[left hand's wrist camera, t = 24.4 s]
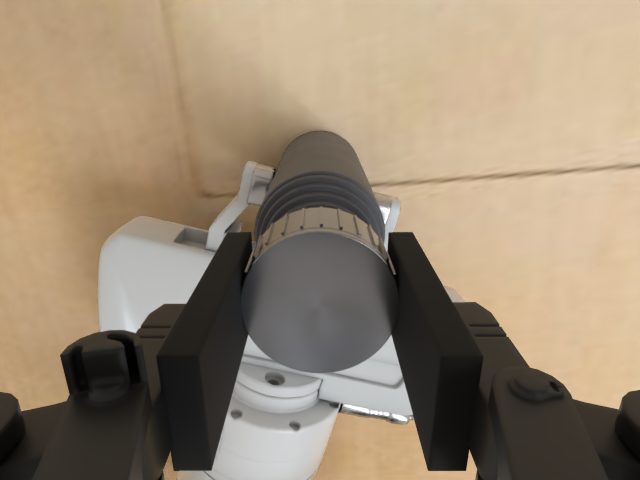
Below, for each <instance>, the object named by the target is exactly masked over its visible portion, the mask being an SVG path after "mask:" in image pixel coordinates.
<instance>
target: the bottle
mask: <svg viewBox="0 0 640 480" xmlns="http://www.w3.org/2000/svg"><path fill="white" fill-rule="evenodd" d="M320 206H323V207H324V208H333V209H338V208H339V209H340V210H341V211H344V212H347V213H350V214H352V215H357V218H359V219H360V220H362V221H364V222H365V223H366V224H367V225H371V228H372V230H373V231H374V232H375V233H376V234H377V236H378V237H381V239H382V241H383V244H384V241H385V223H384V218H383V214H382V212H381V209H380V207H379V205H378V202H377V200H376V198H375V196H374V193H373V191H372V189H371V187H370V184H369V182H368V180H367V177H366V175H365V173H364V171H363V168H362V166H361V164H360V162H359V159H358V157H357V155H356V153H355V151H354V149H353V148H352V146H351V145H350V144H349V143H348V142H347V141H346V140H345V139H343V138H342V137H340V136H338V135H336V134H334V133H331V132H327V131H313V132H309V133H306V134H303V135H301V136H300V137H298V138H296V139H295V140H294V141H293V142H292V143H291V144H290V145H289V146H288V148H287V149H286V151H285V152H284V154H283V157H282V159H281V161H280V163H279V166H278V168H277V170H276V172H275V175H274V177H273V179H272V182H271V184H270V186H269V188H268V191H267V193H266V195H265V197H264V200H263V202H262V204H261V206H260V209H259V211H258V214H257V217H256V222H255V232H254V233H255V243H256V245H257V242H258V240H259V237H260V235H263V234H264V233H265V232H266V231H267V229H268V228H269V227H270V225H271V223H275V222H276V221H278V220H279V219H281V218H282V217H284V216H285V214H287V213H288V214H290V213H292V212H295V211H298V210H302V208H305V209H307V208H316V207H320Z"/></svg>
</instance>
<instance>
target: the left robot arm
mask: <svg viewBox="0 0 640 480" xmlns="http://www.w3.org/2000/svg"><path fill="white" fill-rule="evenodd" d="M387 251H388V254H389V256H390V259H391V261H392V264H393V267H394V269H395V272H396V275H397V276H396V277H395V278H396V282H397V285H398V288H399V301H398V315H397V323H396V326H395V328H394V330H393V332H392V334H391V335H392V339H393V343H394V346H395V350H396V354H397V357H398V361H399V365H400V369H401V372H402V376H403V380H404V383H405V387H406V391H407V394H408V398H409V402H410V405H411V409H412V413H413V417H414V420H415V424H416V428H417V431H418V435H419V439H420V442H421V446H422V450H423V454H424V457H425V461H426V465H427V468H428V471H466V467H467V460H468V454H469V449H470V452H471V454H472V457H473V459H474V462H475V464H476V467H477V474H476V480H640V390H637V391H631V392H628V393H627V394H626V395H625V396H624V397H623V398H622V401H621V404H620V408H619V410H618V409H613V408H609V407H604V406H599V405H594V404H590V403H585V402H581V401H578V400H574V399H572V396H571V394H570V393H569V391H568V390H567V389H566V387H565V386H564V385H563V384H562V383H561V382H559V381H558V380H557V379H555V378H554V377H553V376H551V375H549V374H546V373H544V372H542V371H540V370H537V369H533V368H530V367H529V366H528V364H527V363H526V361H525V360H524V359H523V357H522V356H521V354H520V353H519V352H518V350H517V349H516V347H515V346H514V344H513V343H512V342H511V340H510V339H509V337H506V333H505V332H504V330H503V329H502V328H501V327H499V323H498V322H497V320H496V319H495V318H494V316H493V315H492V313H491V312H489V311H488V310H486V309H485V308H483V307H482V306H480V305H479V304H477V303H476V302H452V300H451V299H450V297H449V295H448V293H447V292H446V290H445V288H444V287H443V285H442V283H441V281H440V280H439V278H438V276H437V274H436V273H435V271H434V269H433V267H432V266H431V264H430V262H429V260H428V259H427V257H426V255H425V253H424V252H423V250H422V248H421V246H420V245H419V243H418V241H417V239H416V238H415V236H414V234H413V233H412V232H389V233H388V250H387ZM251 253H252V238H251V232H227V234H226V235H225V237H224V239H223V241H222V242H221V244H220V246H219V248H218V249H217V251H216V253H215V255H214V256H213V258H212V260H211V262H210V263H209V265H208V267H207V269H206V270H205V272H204V274H203V276H202V277H201V279H200V281H199V282H198V284H197V286H196V288H195V289H194V291H193V293H192V295H191V296H190V298H189V300H188V302H187V303H186V304H163V305H162V306H160V307H159V308H157V309H156V310H154V311H153V312H151V313H150V314H149V315H148V316H147V318H146V319H145V320H144V322H143V323H142V325H141V328H139V329H138V330H137V332H136V333H134V332H130V331H126V330H108V331H103V332H98V333H94V334H91V335H89V336H86V337H83V338H81V339H79V340H77V341H76V342H74V343H73V344H71V345H69V346H68V347H67V348H66V349H65V350H64V351H63V352H62V354H61V355H60V357H61V361H62V365H63V369H64V373H65V377H66V381H67V385H68V389H69V393H70V395H69V397H68V399H67V401H66V402H62V403H58V404H55V405H50V406H45V407H41V408H36V409H31V410H26V411H22V412H21V409H20V406H19V402H18V399H16V398H15V397H14V396H13V395H12V394H9V393H3V392H0V480H164V474H163V469H164V466H165V464H166V461H167V458H168V456H169V453H170V451H171V456H172V462H173V469H174V471H212V467H213V464H214V460H215V456H216V452H217V449H218V445H219V441H220V438H221V434H222V430H223V427H224V423H225V419H226V416H227V412H228V408H229V404H230V401H231V397H232V393H233V390H234V386H235V382H236V379H237V375H238V371H239V368H240V364H241V360H242V356H243V353H244V349H245V345H246V342H247V338H248V333H247V330H246V328H245V326H244V324H243V319H242V305H241V287H242V284H243V281H244V278H245V275H246V274H244V271H245V269H246V266H247V263H248V261H249V258H250V255H251Z"/></svg>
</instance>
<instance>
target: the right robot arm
mask: <svg viewBox="0 0 640 480" xmlns="http://www.w3.org/2000/svg"><path fill="white" fill-rule="evenodd" d="M275 171H276V168H275V167H272V166H268V165H264V164H260V163H257V162H253V161H248V162H247V163H246V164H245V167H244V170H243V174H242V179H241V184H240V189H239V193H238V194H237V196H236V197H235V198H234V199H233V200H232V201H231V202H230V203H229V204H228V205H227V206H226V207H225V208H224V209H223V211H222V212H221V213H220V214H219V215H218V216H217V217H216V219H215V220H214V222H213V223H212V225H211V226H210V227H209V231H208V230H204V229H199V228H195V227H191V226H187V225H182V224H178V223H174V222H170V221H166V220H161V219H157V218H153V217H149V216H137V217H135V218H134V219H132V220H130V221H129V222H127V223H126V224H124V225H123V226H121V227H120V228H118V229H117V230H116V231H115V232H114V233H113V234H112V235H111V236H109V238H108V239H107V240H106V241H105V243H104V244H103V246H102V249H101V252H100V258H99V268H98V317H99V329H100V332H103V331H108V330H126V331H130V332H134V333H136V332H137V330H138V329H139V328H141V325H142V323H143V322H144V320H145V319H146V318H147V316H148V315H149V314H150V313H151V312H153V311H154V310H156V309H157V308H159V307H160V306H162V305H163V304H186V303H187V302H188V300H189V298H190V296H191V295H192V293H193V291H194V289H195V288H196V286H197V284H198V282H199V281H200V279H201V277H202V276H203V274H204V272H205V270H206V269H207V267H208V265H209V263H210V262H211V260H212V258H213V256H214V255H215V253H216V251H217V249H218V248H219V246H220V244H221V242H222V241H223V239H224V237H225V235H226V234H227V232H241V227H242V222H241V221H238V220H235V219H236V218H237V217H238V216H239V215H240V214H241V213H242V212H243V211H244V210H245V209H246V208H247V207H248V205H249V204H255V205H259V206H261V204H262V202H263V200H264V197H265V195H266V193H267V191H268V188H269V186H270V184H271V182H272V179H273V177H274V175H275ZM373 193H374V196H375V198H376V200H377V202H378V205H379V207H380V209H381V212H382V214H383V218H384V223H385V241H384V247H385V249H386V251H387V250H388V233H389V232H393V231H394V228H395V225H396V222H397V219H398V216H399V213H400V208H401V203H400V201H399V200H398V198H396V197H392V196H388V195H384V194H380V193H376V192H373ZM255 248H256V243H255V241H252V250H253V249H255ZM443 287H444V288H445V290H446V292H447V293H448V295H449V297H450V299H451V300H452V302H464V300H463V299H462V297H461V296H460V294H459V293H458V292H457V291H456V290H455V289H453V288H450V287H446V286H443ZM338 413H344V414H349V415H354V416H359V417H365V418H376V419H381V420H386V422H389V423H393V424H401V425H403V424H407V423H408V422H409V420H414V417H413V413H412V409H411V405H410V402H409V398H408V394H407V391H406V387H405V383H404V380H403V376H402V372H401V369H400V365H399V361H398V357H397V354H396V350H395V346H394V343H393V339H392V335H391V336H390V337H389V339H388V340H387V342H386V343H385V344H384V345H383V346H382V348H381V349H380V350H379V351H377V352H376V353H375V354H374V355H373V356H371V357H370V358H369V359H367V360H366V361H364V362H362V363H360V364H358V365H356V366H354V367H351V368H349V369H345V370H342V371H337V372H331V373H309V372H302V371H298V370H294V369H291V368H288V367H286V366H284V365H281V364H280V363H278V362H276V361H274V360H273V359H271V358H270V357H268V356H267V355H266V354H265V353H263V352H262V351H261V350H260V349H259V348H258V347H257V346H256V344H255V343H254V342H253V341H252V339H251V338H250V336H249V334H248V338H247V342H246V345H245V349H244V353H243V356H242V360H241V364H240V368H239V371H238V375H237V379H236V382H235V386H234V390H233V393H232V397H231V401H230V404H229V408H228V412H227V416H226V419H225V423H224V427H223V430H222V434H221V438H220V441H219V445H218V449H217V452H216V456H215V460H214V464H213V467H212V471H179V472H178V476H177V480H311V479H312V478H313V477H314V475H315V474H316V472H317V470H318V468H319V466H320V464H321V461H322V458H323V455H324V452H325V449H326V446H327V444H328V441H329V438H330V435H331V432H332V428H333V426H334V423H335V420H336V417H337V414H338Z"/></svg>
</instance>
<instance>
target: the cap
mask: <svg viewBox="0 0 640 480" xmlns="http://www.w3.org/2000/svg"><path fill="white" fill-rule="evenodd" d="M244 274H246V275H245V278H244V281H243V284H242V287H241V305H242V319H243V324H244V326H245V328H246V330H247V333H248V334H249V336H250V338H251V339H252V341H253V342H254V343H255V344H256V346H257V347H258V348H259V349H260V350H261V351H262V352H263V353H265V354H266V355H267V356H268V357H270V358H271V359H273V360H274V361H276V362H278V363H280V364H281V365H284V366H286V367H288V368H291V369H294V370H298V371H302V372H309V373H331V372H337V371H342V370H345V369H349V368H351V367H354V366H356V365H358V364H360V363H362V362H364V361H366V360H367V359H369V358H370V357H371V356H373V355H374V354H375V353H376V352H377V351H379V350H380V349H381V348H382V346H383V345H384V344H385V343H386V342H387V340H388V339H389V337H390V336H391V334H392V332H393V330H394V328H395V326H396V323H397V315H398V301H399V288H398V285H397V282H396V278H395V277H396V276H397V275H396V272H395V269H394V267H393V264H392V261H391V259H390V256H389V254H388V251H386V249H385V247H384V244H383V241H382V239H381V237H378V236H377V234H376V233H375V232H374V231H373V230H372V228H371V225H367V224H366V223H365V222H364V221H362V220H360V219H359V218H357V215H352V214H350V213H347V212H344V211H341V210H340V209H339V208H338V209H333V208H324V207H323V206H320V207H316V208H307V209H305V208H302V210H298V211H295V212H292V213H290V214H288V213H287V214H285V216H284V217H282V218H281V219H279V220H278V221H276V222H275V223H271V225H270V227H269V228H268V229H267V231H266V232H265V233H264V234H263V235H260V237H259V240H258V242H257V245H256V248H255V249H253V250H252V253H251V255H250V258H249V261H248V263H247V266H246V269H245V271H244Z"/></svg>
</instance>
